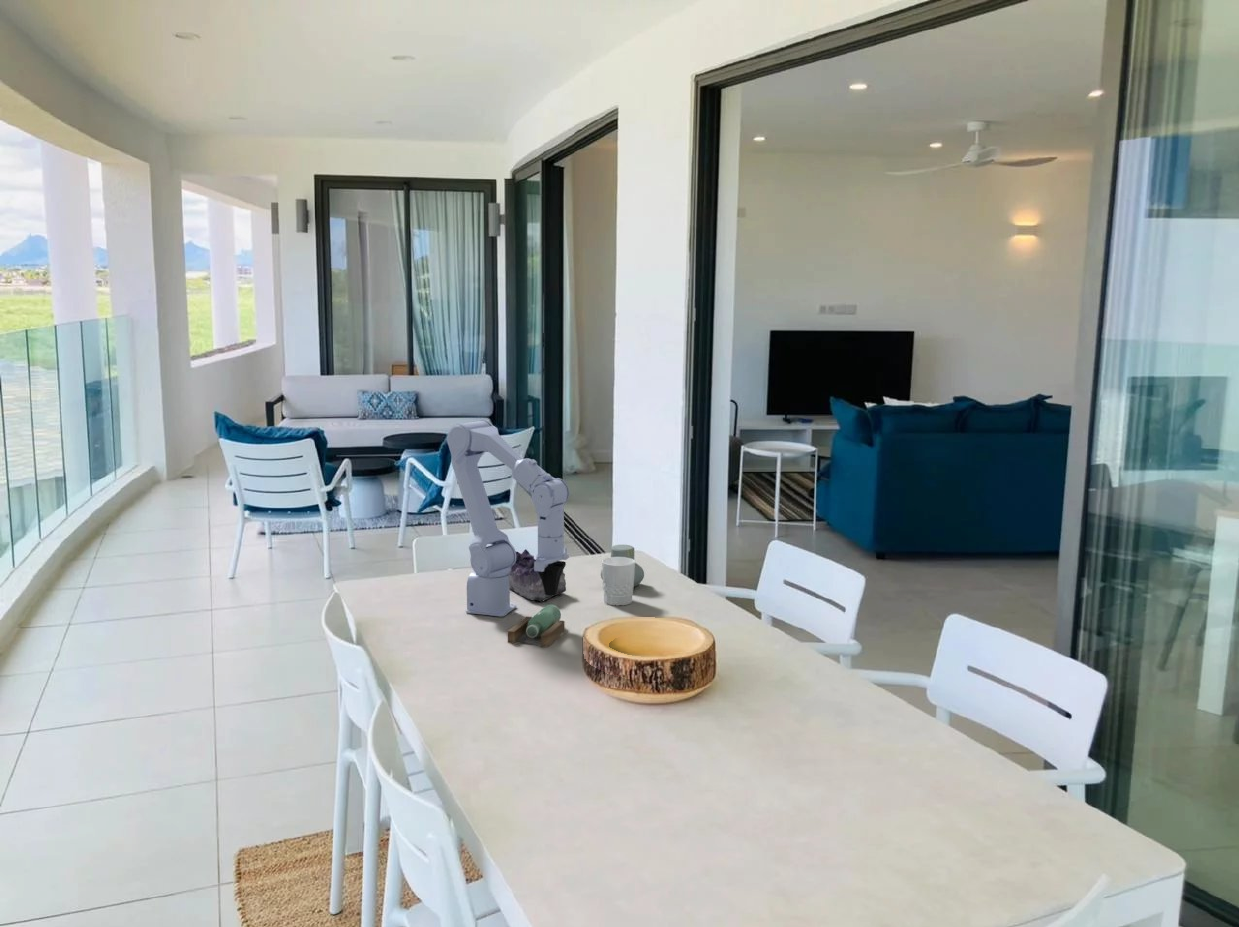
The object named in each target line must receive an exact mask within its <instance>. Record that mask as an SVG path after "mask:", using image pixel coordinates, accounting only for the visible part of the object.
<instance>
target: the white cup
mask: <svg viewBox="0 0 1239 927" xmlns="http://www.w3.org/2000/svg"><path fill="white" fill-rule="evenodd" d="M635 563H636V560H635V559H634V560H633V559H631V558H626V557H611V556H610V557H606V558H604V559H602V560H601V568H602V569H601V570H602V576H603V580H602V587H603V588H602V590H603V601H604V603H605V604H606V605H610V606H615V605H616V607H617V606H618V607H619V605H622V606H628V605H630V604H633V592H634V587H635V586H634V572H635Z"/></svg>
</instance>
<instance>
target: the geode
mask: <svg viewBox="0 0 1239 927" xmlns="http://www.w3.org/2000/svg"><path fill="white" fill-rule="evenodd" d="M535 558H536V557H535V555H532V554H531V553H530V552H529V551H528V549H527V548H526V549H524V550H523V551H522V552H521V553H520V552H518V551H516V562H515V564H514V565H513V566H512V567H511V571H510V572H509V574H510V591H514V592H515V593H516V594H518V595H519V596H521V597H524V598H526V599H528V600H532V601H538V602H544V601H545V600H549V599H550V598H552V597H553V596H548V595H546V594H545V591H544V587H543V583H542V580H541V577H540V575H539V573H538V571H534V562H535V561H536V559H535ZM566 584H567V582H566V574H565V572H564V570H563V571H562V574H561V577H560V581H559V585H558V590H557V593H556V595H559V594H562V593H564V592H566V590H567V587H566ZM556 595H555V596H556Z"/></svg>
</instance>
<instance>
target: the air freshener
mask: <svg viewBox="0 0 1239 927" xmlns="http://www.w3.org/2000/svg"><path fill="white" fill-rule="evenodd" d="M610 557H626V558H631V559H633V560H635V547H634V546H632V545H630V544H615V545H613V546H611V547H610ZM600 578H601V580H602V581H603V576H602V569H601V570H600ZM644 578H645V571H644V569H643V567H642V566H641V565H640V564H638V563H636V562H635V572H634V587H635V586H638V585H639V584H640V583H641V582H643V580H644Z"/></svg>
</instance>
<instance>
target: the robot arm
mask: <svg viewBox="0 0 1239 927" xmlns="http://www.w3.org/2000/svg"><path fill="white" fill-rule="evenodd" d="M445 439H446V443H447V446H448V448H449V451H450V452H449V453H450V456H451V459H450V460H451V465H452V468H453V472H454V476H455V479H456V482H457V484H458V487H459V491H460V494H461V498H462V501H463V503H464V506H465V509H466V513H467V516H468V520H469V522H470V525H471V529H472V532H473V535H474V537H473V539H472V541H470V544H469V545H468V550H469V553H470V554H469V555H470V566H471V569H472V570H473V571H471V572H470V574H469V575H468V577H467V580H466V609H465V613H467V614H474V615H475V614H476V615H483V616H492V617H493V616H494V617H499V618H500V617H503V618H504V617H505V616H506V615H507V614H509V613H510V612H512V611H513V610H514V609H516V607H517V604H511V598H510V597H511V596H510V594H511V592H510V591H511V589H510V574H509V572H510V571H511V567H512V566H513V565H514V564H515V562H516V552H517V551H516V549H515V547H514V545H513V544H512V543H511V542H510V540H509V539H510V538H509V536H508V535H507V533H505V532H503V531H502V530H501V529H499V528H498V525H497V523H496V519H495V516H494V513H493V510H492V507H491V503H490V501H489V498H488V493H487V491H486V488H485V485H484V481H483V479H482V478H483V477H482V476H481V472H480V469H479V466H478V463H479V461H480V460H481V458H482V457H483V455H484V454H486V452H487V453H489V454H491V455H492V456H493V457H494V458H495V459H497V460H498V461H500V462H501V464H503V465H505V466H506V467H508V468H509V470H510V471H511V473H512V474H511V475H512V478H513V480H515V481H516V483H518V484H519V485H520V486H522V487H523V489H524V490H526V491H527V492H528V493H530V495H531V500H532V502H533V504H534V506H535V513H536V515H537V553H536V557H535V558H536V559H535V560H536V561H535V562H534V571H538V573H539V575H540V577H541V580H542V583H543V587H544V591H545V594H546V595H548V596H552V597H555V596H556V593H557V590H558V585H559V581H560V577H561V574H562V571H563V572H564V569H565V567H566V566H567V564H566V563H567V562H566V560H568V559H569V558H570V555H569V554H567V546H565V544H564V543H565V520H564V519H565V511H564V510H565V503H566V502H567V501H568V500H569V498H570V489H569V486H568V485H567V483H566V482H565V481H564V479H562V478H559V477H557V478H555V477H553V476H552V475H551V473H547V472H546V470H544V469H543V468H542V467H541V466H540V465H538V461H537V460H535V459H534V458H533V459H531V458H522V457H521V455H520V454H518V453H517V452H516V450H515V449H513V447H512V446H511V445H510V444H509V443H508V442H507V441H506V440H505V439H504V438H503V437H502V436H501V435H500V434H499V429H498V427H496V426H494V425H493V424H492V423H491V422H490V420H487V419H481V420H479V421H472V422H465V423H456V424H454V425H452V426H451V427H450V429H449V432H448V434H447V436H446V438H445ZM487 545H488V546H487ZM563 560H564V561H563Z"/></svg>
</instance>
